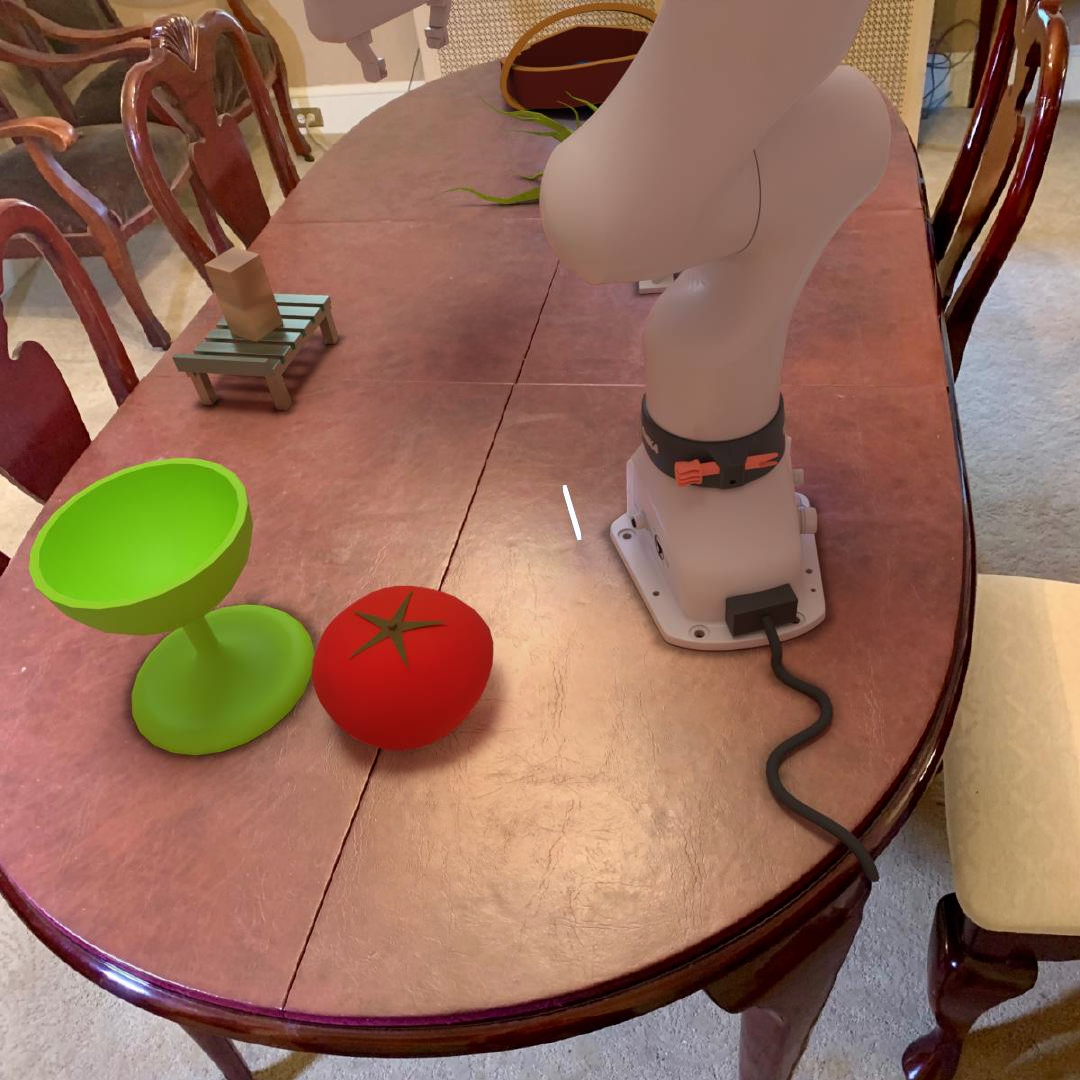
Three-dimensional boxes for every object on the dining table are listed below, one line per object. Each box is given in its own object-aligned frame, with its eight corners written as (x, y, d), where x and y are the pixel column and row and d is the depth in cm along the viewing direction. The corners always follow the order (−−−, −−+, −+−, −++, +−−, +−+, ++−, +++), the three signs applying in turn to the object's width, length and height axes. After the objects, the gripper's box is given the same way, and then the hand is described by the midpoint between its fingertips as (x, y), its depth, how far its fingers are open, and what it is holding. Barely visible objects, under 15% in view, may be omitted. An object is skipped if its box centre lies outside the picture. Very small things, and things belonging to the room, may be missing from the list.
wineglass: (165, 611, 88) (79, 464, 76) (330, 602, 87) (270, 451, 74) (103, 758, 77) (-10, 614, 64) (292, 751, 75) (213, 603, 63)
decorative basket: (675, 69, 182) (671, -20, 173) (703, 98, 158) (700, -3, 150) (502, 96, 183) (490, 9, 175) (504, 129, 160) (490, 30, 151)
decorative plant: (491, 163, 155) (477, 68, 144) (658, 181, 142) (655, 79, 132) (432, 211, 144) (412, 112, 134) (607, 235, 132) (599, 128, 121)
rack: (285, 416, 109) (265, 362, 104) (195, 410, 112) (171, 357, 107) (342, 337, 120) (326, 284, 115) (259, 333, 123) (240, 281, 118)
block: (258, 315, 114) (233, 246, 108) (283, 323, 112) (259, 254, 106) (230, 333, 112) (203, 264, 106) (256, 342, 110) (230, 272, 104)
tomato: (319, 777, 73) (278, 698, 66) (343, 649, 82) (310, 567, 75) (500, 766, 72) (479, 684, 65) (504, 637, 81) (486, 552, 74)
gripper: (318, -74, 75) (360, 105, 85) (473, -133, 86) (495, 31, 96) (265, -76, 78) (311, 97, 87) (421, -132, 89) (447, 27, 99)
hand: (408, 62), depth 92 cm, fingers open, 8 cm apart
